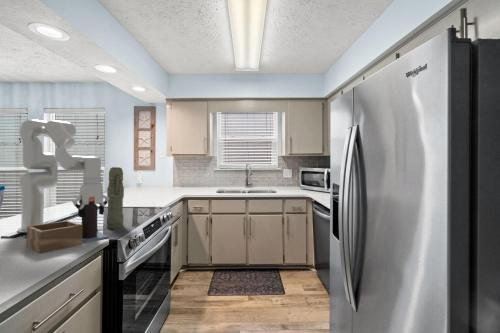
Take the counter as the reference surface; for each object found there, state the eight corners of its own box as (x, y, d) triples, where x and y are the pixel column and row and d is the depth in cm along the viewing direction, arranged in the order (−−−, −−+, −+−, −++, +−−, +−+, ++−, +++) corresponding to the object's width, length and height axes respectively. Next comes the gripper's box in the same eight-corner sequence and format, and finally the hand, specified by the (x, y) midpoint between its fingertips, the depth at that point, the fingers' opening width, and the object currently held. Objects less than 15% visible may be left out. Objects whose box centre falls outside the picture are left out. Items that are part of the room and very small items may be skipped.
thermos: (119, 224, 171) (120, 167, 170) (126, 227, 162) (127, 167, 162) (104, 225, 165) (105, 167, 165) (109, 229, 156) (110, 167, 156)
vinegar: (83, 235, 140) (84, 195, 140) (98, 234, 142) (99, 195, 142) (79, 238, 134) (80, 197, 133) (95, 238, 136) (96, 197, 135)
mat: (74, 238, 138) (74, 236, 138) (95, 234, 147) (95, 232, 147) (85, 242, 131) (85, 240, 131) (107, 238, 140) (107, 236, 140)
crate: (26, 246, 124) (27, 226, 123) (67, 238, 137) (67, 220, 137) (39, 253, 115) (40, 231, 115) (82, 244, 128) (82, 225, 128)
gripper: (105, 180, 148) (104, 212, 148) (69, 181, 134) (68, 217, 134) (113, 181, 144) (112, 214, 144) (76, 182, 129) (76, 219, 130)
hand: (91, 215), depth 139 cm, fingers open, 9 cm apart
